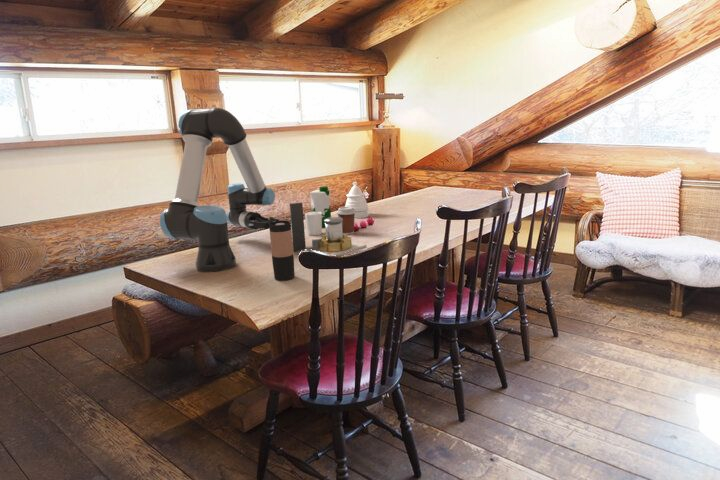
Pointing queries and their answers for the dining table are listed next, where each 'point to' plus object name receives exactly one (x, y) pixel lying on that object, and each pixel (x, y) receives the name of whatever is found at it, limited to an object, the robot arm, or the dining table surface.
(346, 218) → the coffee cup
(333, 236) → the white lidded jar
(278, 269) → the travel mug
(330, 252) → the base plate
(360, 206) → the honey pot
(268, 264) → the dining table surface
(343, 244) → the grey and gold stand
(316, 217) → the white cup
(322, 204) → the milk carton
